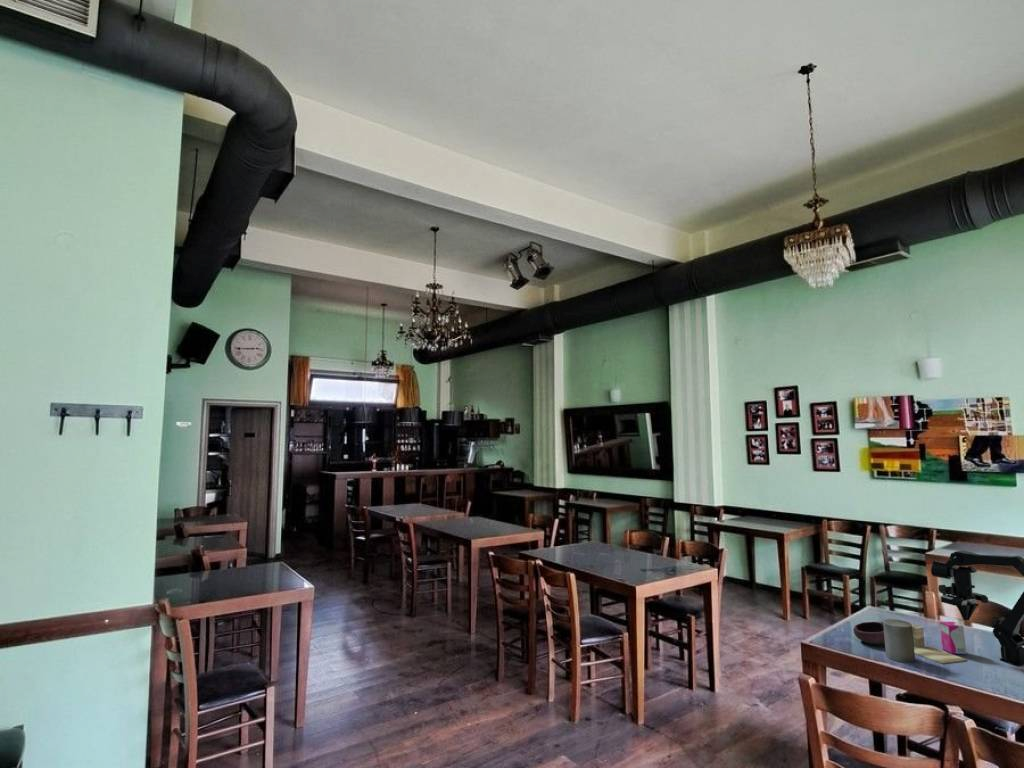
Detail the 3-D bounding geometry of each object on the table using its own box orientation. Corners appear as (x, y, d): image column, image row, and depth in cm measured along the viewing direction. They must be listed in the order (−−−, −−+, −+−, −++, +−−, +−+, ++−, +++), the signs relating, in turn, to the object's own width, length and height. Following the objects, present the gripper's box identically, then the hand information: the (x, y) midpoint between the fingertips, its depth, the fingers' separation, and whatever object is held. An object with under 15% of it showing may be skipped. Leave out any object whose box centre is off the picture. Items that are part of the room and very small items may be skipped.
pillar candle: (913, 656, 221) (910, 617, 223) (916, 664, 212) (913, 624, 214) (884, 652, 226) (881, 614, 227) (886, 660, 217) (883, 620, 219)
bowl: (888, 651, 226) (886, 630, 227) (852, 643, 235) (850, 624, 235) (892, 640, 239) (890, 621, 240) (857, 633, 247) (856, 615, 248)
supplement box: (956, 649, 228) (954, 621, 229) (967, 655, 222) (964, 625, 223) (941, 649, 228) (939, 620, 229) (951, 654, 222) (949, 625, 223)
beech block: (924, 646, 231) (923, 627, 232) (918, 648, 230) (917, 628, 230) (914, 643, 235) (913, 624, 236) (908, 644, 233) (907, 625, 234)
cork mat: (967, 660, 216) (967, 659, 216) (941, 664, 213) (941, 663, 213) (929, 647, 231) (929, 646, 231) (905, 650, 227) (905, 649, 227)
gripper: (959, 575, 240) (963, 612, 238) (926, 578, 235) (929, 616, 234) (987, 582, 229) (991, 620, 228) (953, 585, 225) (956, 624, 223)
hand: (966, 620), depth 228 cm, fingers closed
